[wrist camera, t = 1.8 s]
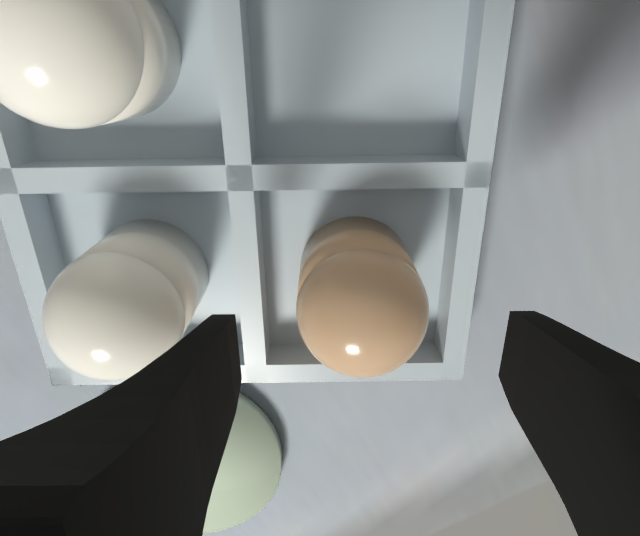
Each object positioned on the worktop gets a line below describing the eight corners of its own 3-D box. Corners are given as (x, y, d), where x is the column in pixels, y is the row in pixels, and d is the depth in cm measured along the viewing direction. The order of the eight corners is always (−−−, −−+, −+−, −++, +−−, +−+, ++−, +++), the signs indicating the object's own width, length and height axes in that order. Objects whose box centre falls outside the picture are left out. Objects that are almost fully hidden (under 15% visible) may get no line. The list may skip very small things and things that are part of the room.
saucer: (111, 519, 23) (104, 534, 22) (70, 376, 19) (60, 388, 19) (286, 517, 23) (284, 532, 22) (276, 373, 19) (275, 385, 19)
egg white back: (111, 318, 17) (32, 411, 13) (88, 219, 16) (-12, 283, 11) (214, 317, 17) (174, 409, 13) (202, 218, 16) (151, 281, 11)
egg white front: (65, 118, 14) (-60, 140, 10) (32, -28, 13) (-140, -89, 8) (189, 117, 14) (125, 138, 10) (171, -30, 13) (83, -93, 8)
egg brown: (301, 316, 17) (295, 408, 13) (298, 216, 16) (289, 279, 11) (404, 314, 17) (437, 406, 12) (411, 215, 16) (452, 276, 11)
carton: (80, 352, 19) (52, 385, 17) (-43, -107, 13) (-111, -140, 11) (447, 347, 19) (462, 380, 17) (501, -115, 13) (536, -151, 11)
